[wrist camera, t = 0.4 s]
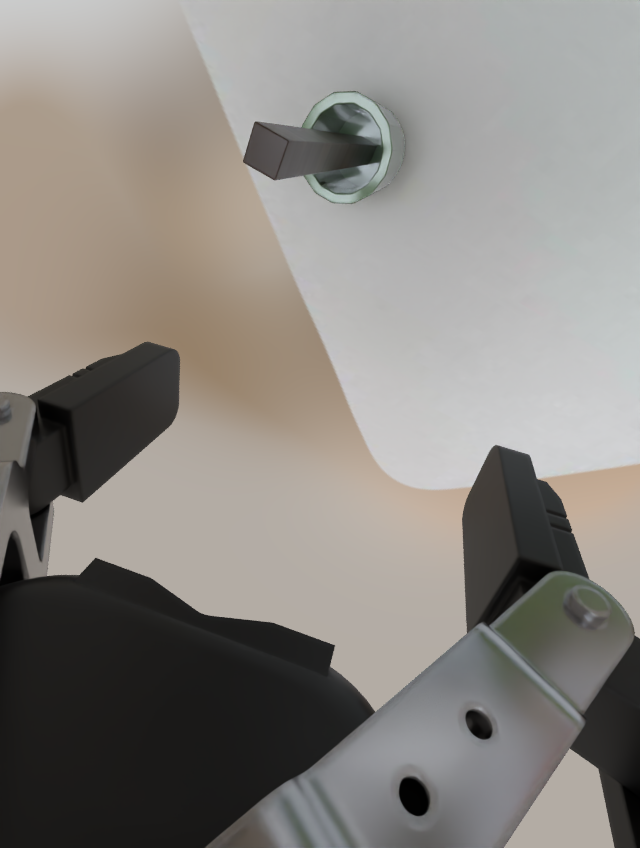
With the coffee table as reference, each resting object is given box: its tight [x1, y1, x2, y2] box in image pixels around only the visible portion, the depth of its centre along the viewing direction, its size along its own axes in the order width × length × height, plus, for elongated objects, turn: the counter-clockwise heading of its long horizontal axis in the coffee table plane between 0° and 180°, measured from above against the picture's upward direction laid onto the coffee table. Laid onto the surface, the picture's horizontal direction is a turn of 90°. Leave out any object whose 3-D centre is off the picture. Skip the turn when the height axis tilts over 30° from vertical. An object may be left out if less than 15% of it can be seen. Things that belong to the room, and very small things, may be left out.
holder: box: [301, 91, 405, 204], centre depth 26 cm, size 5×5×7 cm
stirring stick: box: [243, 121, 377, 180], centre depth 21 cm, size 1×1×18 cm
